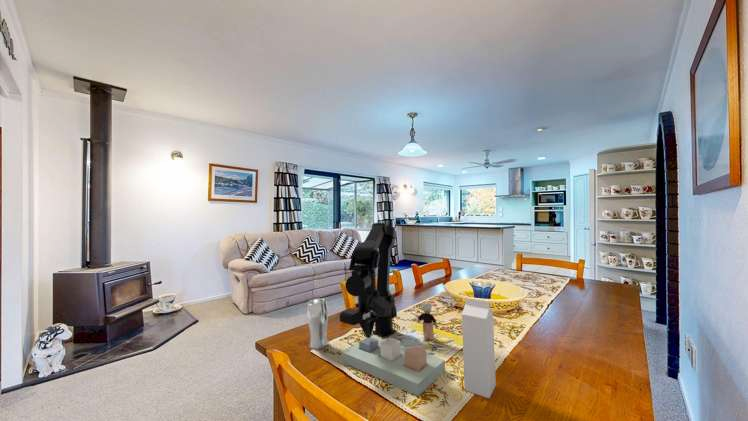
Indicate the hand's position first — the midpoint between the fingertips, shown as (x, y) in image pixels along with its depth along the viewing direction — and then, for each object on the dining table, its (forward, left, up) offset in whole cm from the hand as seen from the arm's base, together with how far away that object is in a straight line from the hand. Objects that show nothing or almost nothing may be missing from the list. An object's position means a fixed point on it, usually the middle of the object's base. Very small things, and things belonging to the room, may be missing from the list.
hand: (368, 337), depth 90 cm
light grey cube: (0, +8, -4) cm, 9 cm away
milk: (-5, +32, -6) cm, 34 cm away
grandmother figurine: (-21, +8, -6) cm, 24 cm away
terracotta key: (0, +17, -4) cm, 17 cm away
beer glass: (+4, -20, -6) cm, 21 cm away
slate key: (0, 0, -6) cm, 6 cm away
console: (0, +8, -6) cm, 11 cm away
